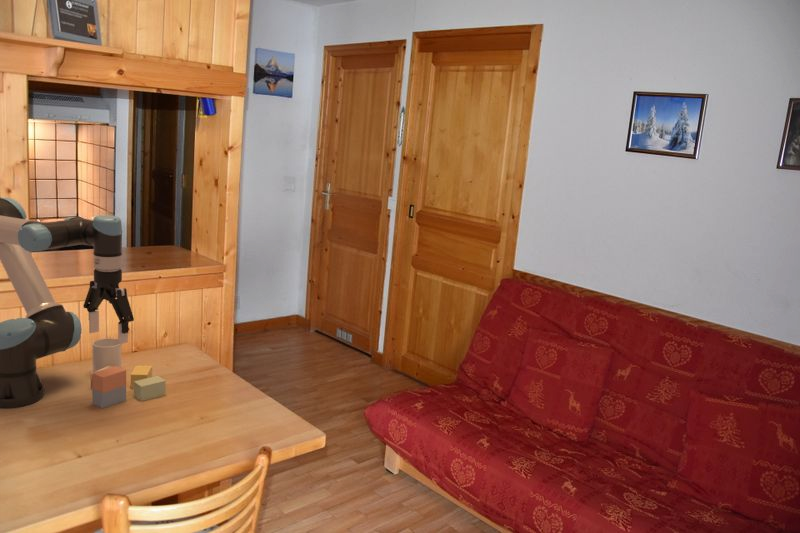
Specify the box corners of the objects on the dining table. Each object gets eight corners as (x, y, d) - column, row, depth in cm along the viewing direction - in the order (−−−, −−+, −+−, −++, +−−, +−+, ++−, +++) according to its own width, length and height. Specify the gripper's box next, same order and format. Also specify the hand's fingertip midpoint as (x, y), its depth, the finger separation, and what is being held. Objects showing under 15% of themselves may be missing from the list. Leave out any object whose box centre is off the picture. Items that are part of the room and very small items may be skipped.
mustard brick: (130, 389, 211) (130, 374, 210) (136, 379, 218) (136, 365, 217) (147, 389, 212) (147, 374, 211) (152, 379, 219) (152, 365, 218)
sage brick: (133, 396, 206) (133, 381, 205) (157, 390, 212) (157, 375, 211) (141, 401, 203) (141, 386, 202) (165, 395, 209) (165, 380, 207)
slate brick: (92, 403, 198) (92, 388, 197) (116, 395, 205) (116, 381, 204) (101, 408, 196) (101, 393, 195) (126, 400, 202) (126, 385, 201)
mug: (119, 378, 218) (119, 346, 215) (90, 379, 215) (90, 347, 213) (124, 365, 229) (124, 334, 226) (96, 365, 226) (96, 335, 224)
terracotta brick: (92, 388, 197) (92, 373, 196) (115, 380, 204) (115, 365, 203) (103, 393, 195) (103, 377, 194) (126, 385, 202) (126, 370, 200)
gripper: (70, 262, 194) (71, 330, 199) (124, 279, 182) (124, 351, 187) (93, 259, 201) (93, 325, 205) (146, 275, 188) (146, 344, 193)
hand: (108, 337), depth 196 cm, fingers open, 13 cm apart
